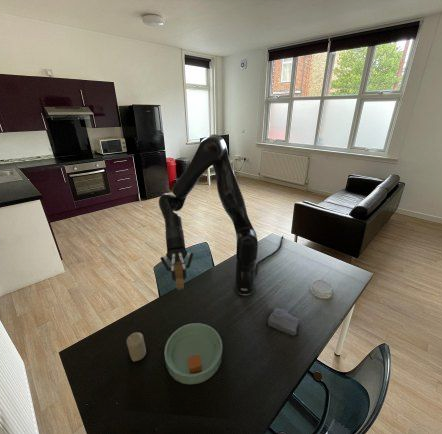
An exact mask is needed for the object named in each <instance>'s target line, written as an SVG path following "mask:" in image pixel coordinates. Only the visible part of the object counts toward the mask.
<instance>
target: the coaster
mask: <svg viewBox="0 0 442 434" xmlns="http://www.w3.org/2000/svg"><path fill="white" fill-rule="evenodd" d="M310 292H311V294H313V295H314V296H315V297H317V298H319V299H322V300H323V299H325V300H327V299H330V298H331V297H332V296H333V294H334V287H333V285H332V284H331V283H329V282H328V281H326V280H323V279H315V280H314V281H312V282H311V283H310Z"/></svg>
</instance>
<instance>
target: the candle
mask: <svg viewBox="0 0 442 434" xmlns="http://www.w3.org/2000/svg"><path fill="white" fill-rule="evenodd" d="M126 345H127V349H128V353H129V357H130V360H131V361H132V362H134V363H135V362H138V361H141V360H142V359H144V358H145V356H146V354H147V348H146V343H145V339H144V335H143V333H141V332H140V331H139V332H133V333H131V334H129V336H127V338H126Z"/></svg>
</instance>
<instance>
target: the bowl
mask: <svg viewBox="0 0 442 434" xmlns="http://www.w3.org/2000/svg"><path fill="white" fill-rule="evenodd" d="M163 355H164V361H165V367H166V370H167V371H168V374H169V376H171V377H172V378H173V380H175V381H177V382H178V383H181V384H183V385H198V384H201V383H203V382H206V381H207V380H208V379H211V377H213V376H214V375H215V374H216V372H217V371H218V370H219V368H220V366H221V364H222V360H223V340H222V338H221V335H220V334H219V333H218V331H217V330H216V329H214V328H213V327H212V326H210V325H208V324H205V323H199V322H195V323H194V322H193V323H188V324H185V325H182V326H181V327H179V328H177V329H176V330H175V331H174V332H173V333H172V334H171V335H170V336H169V337H168V338H167V341H166V344H165V345H164V352H163ZM196 355H200V360H201V366H202V372H199V373H195V374H190V370H189V361H188V357H192V356H196Z"/></svg>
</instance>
